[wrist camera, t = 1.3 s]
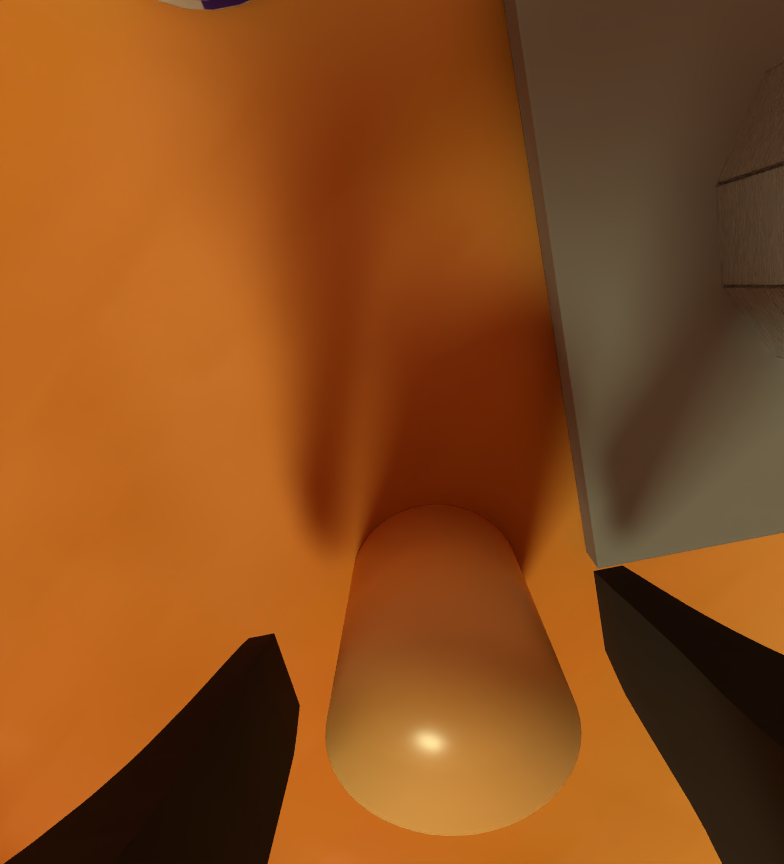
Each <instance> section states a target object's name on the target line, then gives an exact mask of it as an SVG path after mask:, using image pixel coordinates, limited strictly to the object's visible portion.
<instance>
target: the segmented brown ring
mask: <svg viewBox="0 0 784 864" xmlns="http://www.w3.org/2000/svg"><path fill="white" fill-rule="evenodd" d="M766 73H767V74H765V75H763V77H762V79H761V81H760V83H759V86H758V88H757V90H756V93H755V95H754V97H753V100H752V102H751V104H750V106H749V109H748V111H747V113H746V116H745V118H744V120H743V123H742V125H741V127H740V129H739V132H738V134H737V136H736V139H735V141H734V143H733V146H732V148H731V150H730V152H729V155H728V157H727V159H726V162H725V164H724V166H723V169H722V171H721V173H720V175H719V178H718V180H717V182H716V183H718V184H721V186H718V187H716V204H717V220H718V236H719V253H720V269H721V285H726V286H725V287H724V288H723V289H724V291H725V292H726V293H727V295H728V296H729V297H730V299H731V300H732V301H733V303H734V304H735V305H736V307H737V308H738V309H739V311H740V312H741V313H742V315H743V316H744V317H745V319H746V320H747V321H748V323H749V324H750V325H751V327H752V328H753V329H754V331H755V332H756V333H757V335H758V336H759V337H760V339H761V340H762V341H763V342H764V344H765V345H766V346H767V348H768V349H769V350H770V352H771V353H772V354H773V355H775V356H776V357H777V358H780V359H784V55H783V56H782V57H781V58H780V59H779V60H778V61H777V62H776V63H775V64H774V65H773V66H771V67H770V68H769V69H768V70H767V71H766Z"/></svg>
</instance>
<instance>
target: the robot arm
mask: <svg viewBox="0 0 784 864" xmlns="http://www.w3.org/2000/svg"><path fill="white" fill-rule="evenodd" d="M594 577H595V584H596V591H597V598H598V604H599V611H600V618H601V625H602V632H603V638H604V645H605V651H606V653H607V655H608V657H609V660H610V662H611V664H612V666H613V668H614V671H615V673H616V675H617V677H618V679H619V682H620V684H621V686H622V688H623V690H624V692H625V694H626V696H627V698H628V700H629V701H630V703H631V705H632V707H633V708H634V710H635V712H636V713H637V715H638V717H639V718H640V720H641V722H642V723H643V725H644V727H645V728H646V730H647V732H648V733H649V735H650V737H651V738H652V740H653V742H654V743H655V745H656V747H657V748H658V750H659V752H660V753H661V755H662V757H663V758H664V760H665V762H666V763H667V765H668V767H669V768H670V770H671V772H672V773H673V775H674V777H675V778H676V780H677V782H678V783H679V785H680V786H681V788H682V790H683V791H684V793H685V795H686V796H687V798H688V800H689V801H690V803H691V805H692V807H693V808H694V810H695V812H696V814H697V816H698V817H699V819H700V821H701V823H702V825H703V826H704V828H705V830H706V832H707V834H708V836H709V838H710V840H711V842H712V844H713V846H714V848H715V850H716V852H717V854H718V856H719V858H720V860H721V862H722V864H784V655H782V654H780V653H778V652H776V651H774V650H772V649H769V648H767V647H765V646H763V645H761V644H759V643H757V642H755V641H753V640H751V639H749V638H747V637H745V636H743V635H741V634H739V633H737V632H735V631H733V630H731V629H729V628H728V627H726V626H724V625H722V624H720V623H718V622H716V621H715V620H713V619H711V618H709V617H707V616H705V615H704V614H702V613H700V612H698V611H697V610H695V609H693V608H691V607H690V606H688V605H686V604H685V603H683V602H681V601H679V600H678V599H676V598H674V597H673V596H671V595H669V594H668V593H666V592H665V591H663V590H661V589H660V588H658V587H656V586H655V585H653V584H652V583H650V582H648V581H647V580H645V579H643V578H642V577H640V576H639V575H637V574H635V573H634V572H632V571H631V570H629V569H627V568H626V567H624V566H618V567H613V568H607V569H602V570H597V571H594ZM299 707H300V705H299V702H298V699H297V696H296V694H295V691H294V688H293V685H292V682H291V680H290V677H289V674H288V671H287V668H286V665H285V663H284V660H283V657H282V654H281V651H280V649H279V646H278V643H277V640H276V637H275V634H269V635H263V636H258V637H253V638H249V639H248V640H247V641H245V642H244V643H243V644H242V645H241V646H240V647H239V648H238V650H237V651H236V652H235V653H234V654H233V655H232V656H231V657H230V658H229V659H228V660H227V661H226V662H225V664H224V665H223V666H222V667H221V668H220V669H219V670H218V671H217V672H216V673H215V675H214V676H213V677H212V678H211V679H210V680H209V681H208V682H207V683H206V684H205V685H204V687H203V688H202V689H201V690H200V691H199V692H198V693H197V694H196V695H195V696H194V697H193V699H192V700H191V701H190V702H189V703H188V704H187V705H186V706H185V707H184V708H183V709H182V710H181V711H180V712H179V713H178V714H177V715H176V716H175V717H174V718H173V719H172V720H171V722H170V723H169V724H168V725H167V726H166V727H165V728H164V729H163V730H162V731H161V732H160V733H159V734H158V735H157V736H156V737H155V738H154V739H153V740H152V741H151V742H150V743H149V744H148V745H147V746H146V747H145V748H144V749H143V750H142V751H141V752H140V753H139V754H138V755H136V756H135V757H134V758H133V759H132V760H131V761H130V762H129V763H128V764H127V765H126V766H125V767H124V768H122V769H121V770H120V771H119V772H118V773H117V774H116V775H115V776H113V777H112V778H111V779H110V780H109V781H108V782H107V783H106V784H104V785H103V786H102V787H101V788H100V789H99V790H98V791H96V792H95V793H94V794H93V795H92V796H91V797H89V798H88V799H87V800H86V801H85V802H83V803H82V804H81V805H80V806H78V807H77V808H76V809H75V810H73V811H72V812H71V813H69V814H68V815H67V816H66V817H64V818H63V819H62V820H61V821H59V822H58V823H57V824H56V825H54V826H53V827H52V828H51V829H49V830H48V831H47V832H45V833H44V834H43V835H42V836H40V837H39V838H38V839H37V840H35V841H34V842H33V843H31V844H30V845H29V846H27V847H26V848H25V849H23V850H22V851H21V852H19V853H18V854H17V855H15V856H14V857H12V858H11V859H10V860H8V861H7V862H5V863H4V864H268V860H269V855H270V851H271V847H272V843H273V839H274V835H275V831H276V827H277V823H278V819H279V815H280V810H281V806H282V802H283V798H284V794H285V790H286V786H287V782H288V777H289V773H290V769H291V765H292V760H293V756H294V750H295V743H296V735H297V726H298V716H299Z"/></svg>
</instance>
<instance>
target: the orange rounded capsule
mask: <svg viewBox="0 0 784 864" xmlns="http://www.w3.org/2000/svg"><path fill="white" fill-rule="evenodd" d="M325 737H326V748H327V753H328V756H329V760H330V763H331V766H332V768H333V770H334V773H335V775H336V776H337V778H338V779H339V781H340V783H341V784H342V786H343V787H344V788H345V789H346V791H347V792H348V793H349V794H350V795H351V797H353V798H354V799H355V800H356V801H357V802H358V803H359V804H360V805H361V806H363V807H364V808H365V809H367V810H368V811H370V812H371V813H372V814H374V815H376V816H378V817H379V818H381V819H383V820H385V821H387V822H389V823H392V824H394V825H396V826H399V827H402V828H405V829H408V830H412V831H415V832H420V833H426V834H432V835H443V836H462V835H472V834H479V833H484V832H489V831H493V830H496V829H500V828H503V827H506V826H508V825H511V824H513V823H515V822H518V821H520V820H522V819H524V818H526V817H527V816H529V815H531V814H533V813H534V812H536V811H537V810H538V809H540V808H541V807H542V806H544V805H545V804H546V803H547V802H548V801H549V800H551V799H552V798H553V797H554V796H555V795H556V794H557V793H558V791H559V790H560V789H561V788H562V786H563V785H564V784H565V782H566V781H567V779H568V778H569V776H570V774H571V773H572V771H573V768H574V766H575V763H576V761H577V758H578V754H579V750H580V745H581V723H580V717H579V713H578V709H577V706H576V703H575V701H574V699H573V696H572V694H571V691H570V689H569V686H568V684H567V682H566V679H565V677H564V674H563V672H562V669H561V667H560V664H559V662H558V660H557V657H556V655H555V652H554V650H553V647H552V645H551V642H550V640H549V638H548V635H547V633H546V630H545V628H544V625H543V623H542V621H541V618H540V616H539V613H538V611H537V608H536V606H535V603H534V601H533V599H532V596H531V594H530V591H529V589H528V586H527V584H526V581H525V579H524V577H523V574H522V572H521V569H520V567H519V564H518V562H517V560H516V557H515V555H514V552H513V550H512V548H511V546H510V544H509V543H508V541H507V539H506V538H505V537H504V535H503V534H502V533H501V532H500V531H499V530H498V529H497V528H496V527H495V526H494V525H493V524H492V523H491V522H489V521H488V520H486V519H485V518H483V517H482V516H480V515H478V514H476V513H474V512H471V511H469V510H466V509H463V508H459V507H455V506H449V505H424V506H418V507H414V508H410V509H407V510H404V511H402V512H399V513H397V514H395V515H393V516H391V517H390V518H388V519H386V520H385V521H384V522H382V523H381V524H380V525H378V526H377V527H376V528H375V529H374V530H373V531H372V532H371V533H370V534H369V536H368V537H367V538H366V540H365V541H364V543H363V544H362V546H361V548H360V550H359V552H358V555H357V557H356V561H355V565H354V570H353V575H352V581H351V587H350V592H349V598H348V604H347V609H346V615H345V621H344V626H343V632H342V638H341V643H340V649H339V655H338V660H337V666H336V672H335V677H334V683H333V689H332V694H331V700H330V706H329V711H328V717H327V723H326V736H325Z"/></svg>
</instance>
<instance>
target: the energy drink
mask: <svg viewBox="0 0 784 864" xmlns="http://www.w3.org/2000/svg"><path fill="white" fill-rule="evenodd" d="M158 1H161V2H164V3H168V4H171V5H174V6H178V7H181V8H185V9H196V10H213V11H214V10H219V9H225V8H230V7H236V6H240V5H243V4H245V3H247V2H249V1H252V0H158Z"/></svg>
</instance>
